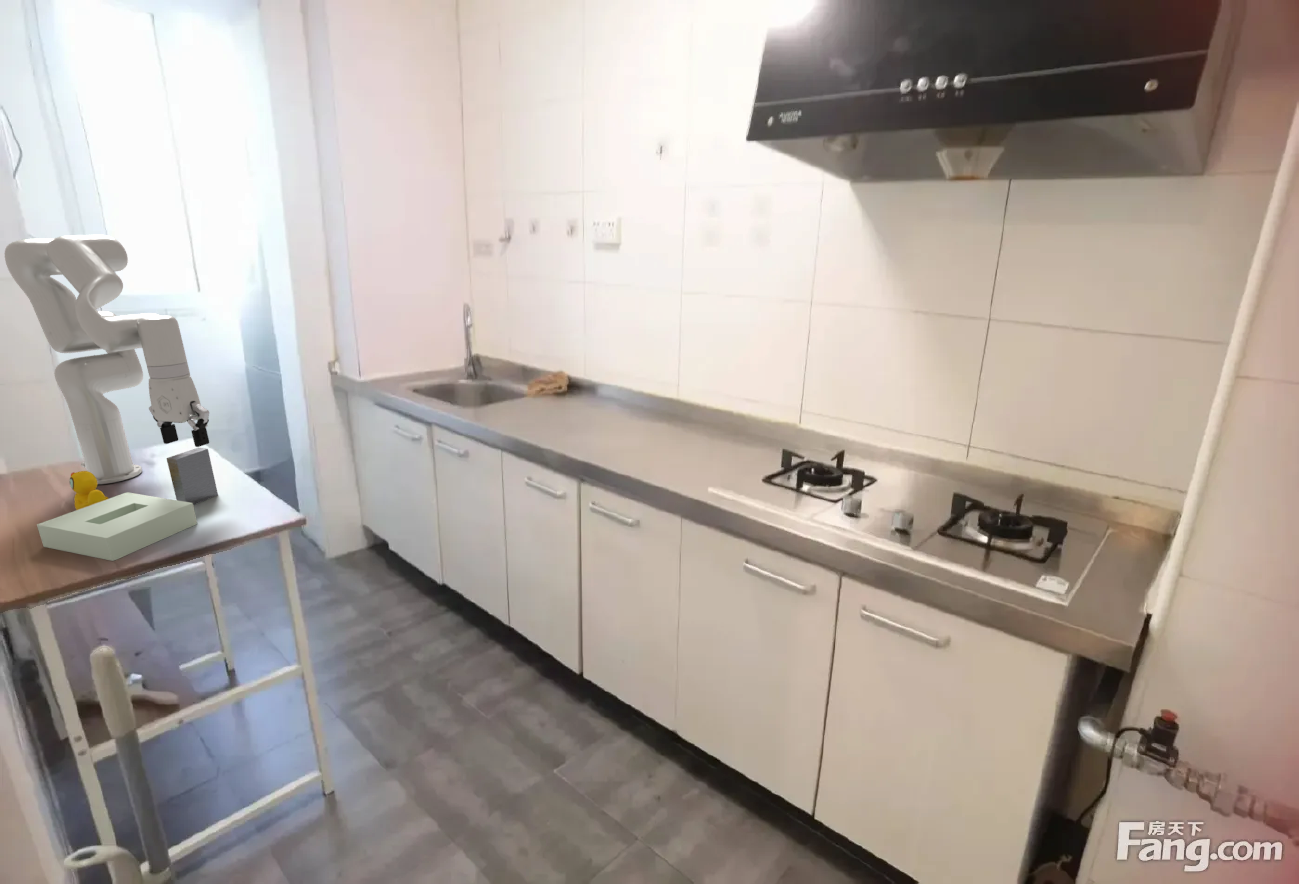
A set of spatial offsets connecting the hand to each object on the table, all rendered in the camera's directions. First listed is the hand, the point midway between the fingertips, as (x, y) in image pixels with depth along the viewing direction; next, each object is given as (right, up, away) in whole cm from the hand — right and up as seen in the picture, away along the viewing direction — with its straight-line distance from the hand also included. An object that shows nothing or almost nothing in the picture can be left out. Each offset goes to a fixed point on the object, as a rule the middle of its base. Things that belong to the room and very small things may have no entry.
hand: (186, 443), depth 154 cm
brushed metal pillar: (-1, -14, +5) cm, 15 cm away
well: (-4, -19, -13) cm, 24 cm away
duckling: (-20, -16, -2) cm, 26 cm away
